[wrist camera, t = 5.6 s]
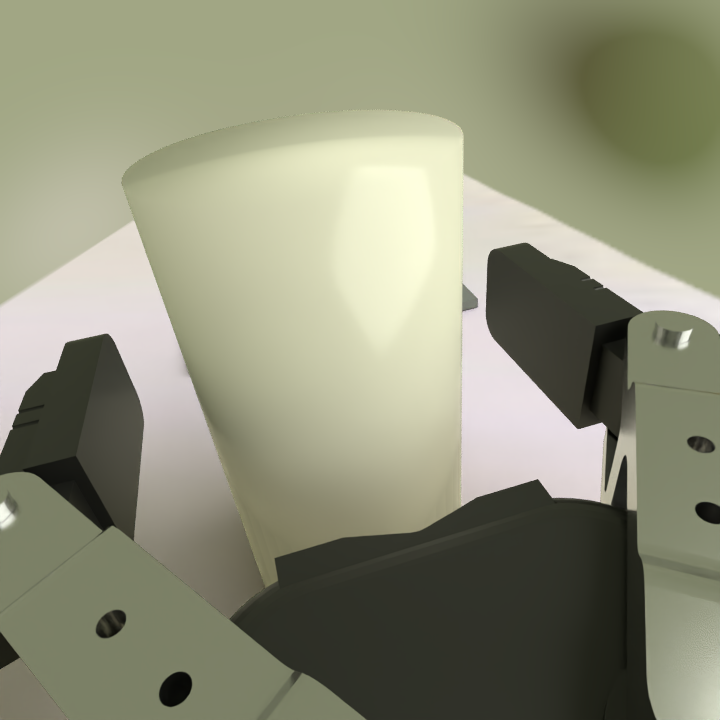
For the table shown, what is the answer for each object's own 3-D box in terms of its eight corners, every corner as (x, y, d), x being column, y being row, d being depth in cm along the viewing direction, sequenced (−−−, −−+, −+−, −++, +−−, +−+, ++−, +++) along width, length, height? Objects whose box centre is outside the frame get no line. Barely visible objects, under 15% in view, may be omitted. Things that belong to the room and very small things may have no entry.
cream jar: (279, 684, 11) (100, 239, 6) (254, 506, 15) (133, 141, 10) (497, 611, 12) (532, 156, 6) (418, 460, 16) (398, 97, 10)
